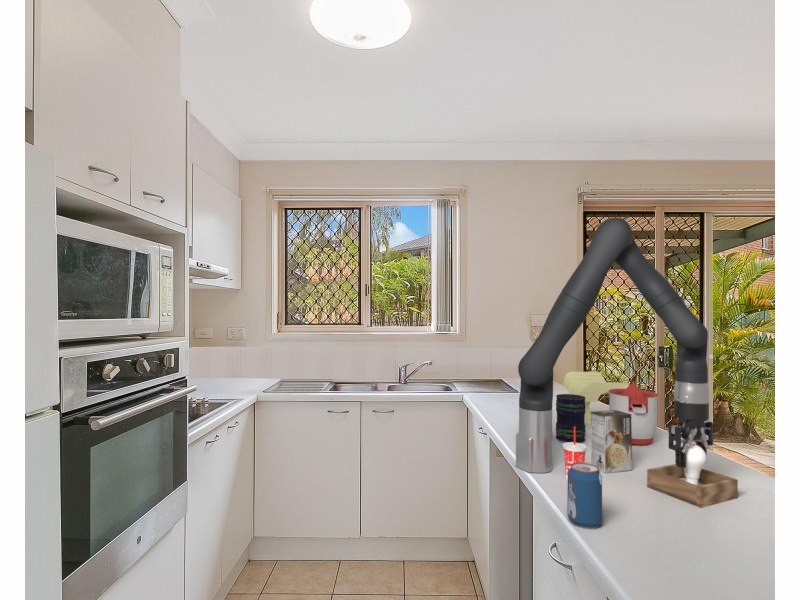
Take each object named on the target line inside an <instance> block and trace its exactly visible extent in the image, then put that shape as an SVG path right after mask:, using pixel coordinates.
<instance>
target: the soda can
mask: <svg viewBox="0 0 800 600" xmlns="http://www.w3.org/2000/svg"><path fill="white" fill-rule="evenodd" d="M566 504H567V507H566V508H567V517H568V519H569V521H570V523H571V524H572V525H573V526H575V527H578V528H580V529H585V530H593V529H595V530H596V529H597V528H598V527H599V526H600V524H602V521H603V476H602V474H601V471H600V470H599V468H598V467H597V466H595V465H593V464H591V463H588V462H585V463H573V464H571V468H570V469H569V471H568V480H567V503H566Z"/></svg>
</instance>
